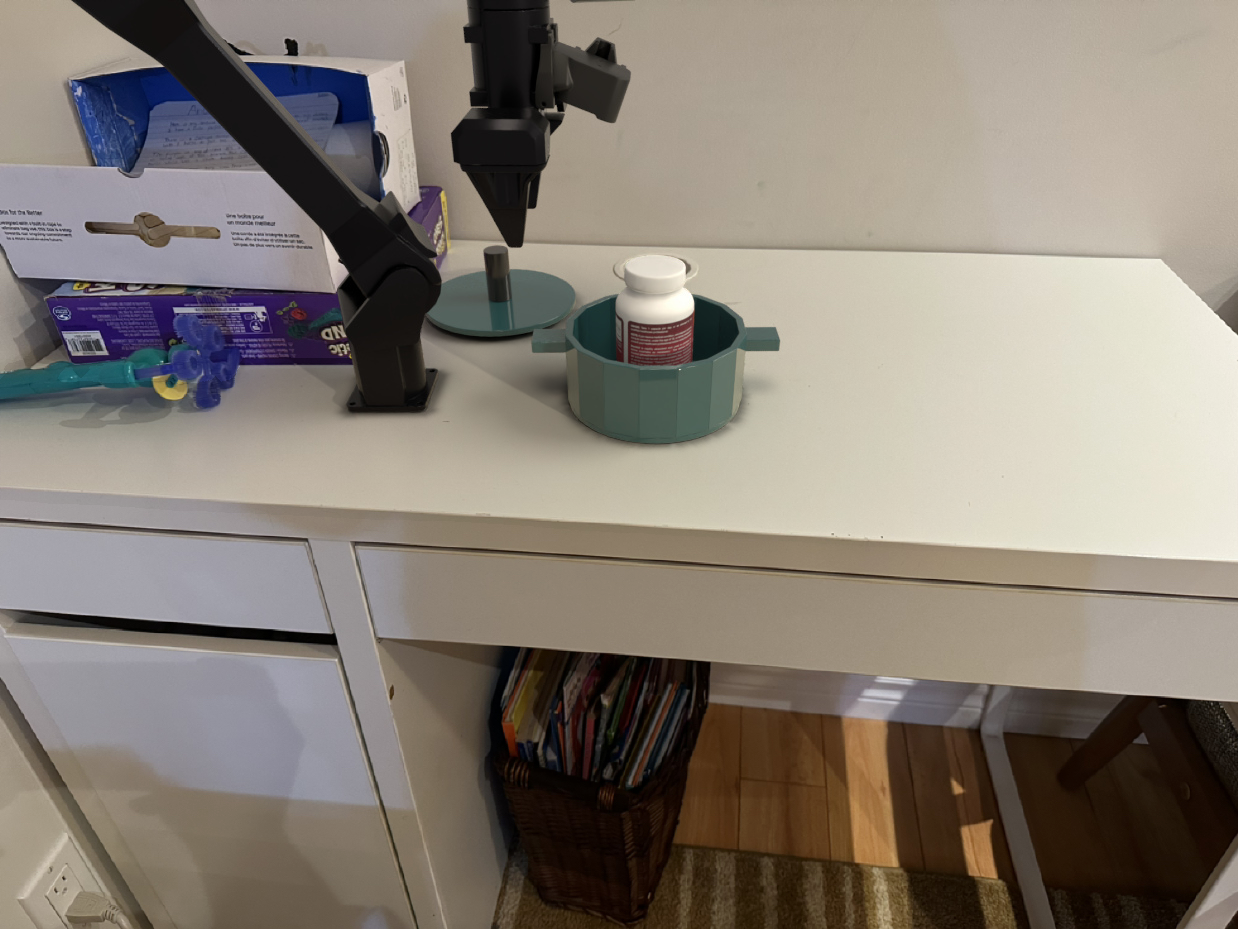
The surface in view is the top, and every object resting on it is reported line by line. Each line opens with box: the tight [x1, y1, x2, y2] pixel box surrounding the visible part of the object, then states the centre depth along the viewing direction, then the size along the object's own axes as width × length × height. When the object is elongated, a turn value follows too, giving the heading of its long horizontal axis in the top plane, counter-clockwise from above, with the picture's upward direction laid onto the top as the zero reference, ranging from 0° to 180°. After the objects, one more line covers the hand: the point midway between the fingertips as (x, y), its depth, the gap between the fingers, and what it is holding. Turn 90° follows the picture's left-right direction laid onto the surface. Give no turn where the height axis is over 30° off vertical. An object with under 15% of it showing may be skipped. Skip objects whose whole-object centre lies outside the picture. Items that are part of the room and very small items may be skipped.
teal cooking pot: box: [530, 293, 781, 445], centre depth 69 cm, size 14×20×6 cm
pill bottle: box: [616, 254, 694, 366], centre depth 67 cm, size 6×6×11 cm
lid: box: [425, 244, 577, 337], centre depth 84 cm, size 15×15×6 cm
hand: (523, 226), depth 67 cm, fingers open, 9 cm apart
